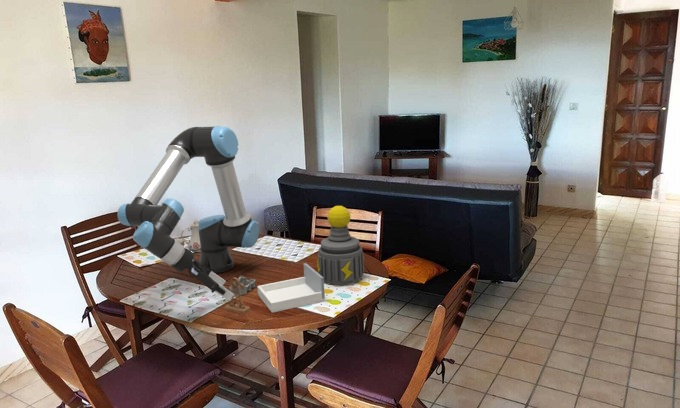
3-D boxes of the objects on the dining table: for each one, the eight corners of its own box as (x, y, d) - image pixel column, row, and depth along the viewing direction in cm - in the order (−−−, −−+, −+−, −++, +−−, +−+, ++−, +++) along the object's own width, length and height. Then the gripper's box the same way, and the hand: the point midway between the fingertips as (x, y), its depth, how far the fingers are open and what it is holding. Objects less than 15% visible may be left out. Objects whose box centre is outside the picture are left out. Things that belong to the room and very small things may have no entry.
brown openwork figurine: (224, 309, 178) (221, 277, 175) (231, 305, 181) (228, 274, 178) (243, 313, 173) (240, 281, 171) (250, 309, 177) (248, 277, 174)
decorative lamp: (324, 289, 192) (320, 213, 185) (313, 272, 210) (310, 203, 203) (370, 282, 197) (368, 208, 190) (356, 267, 214) (354, 199, 208)
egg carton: (242, 284, 201) (241, 274, 200) (258, 286, 198) (258, 276, 197) (227, 294, 192) (226, 284, 191) (243, 296, 189) (243, 286, 188)
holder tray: (257, 294, 189) (256, 272, 187) (307, 284, 197) (305, 263, 195) (271, 312, 173) (270, 288, 171) (324, 300, 181) (323, 277, 179)
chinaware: (216, 242, 264) (212, 211, 262) (230, 246, 251) (226, 213, 249) (164, 255, 247) (159, 222, 244) (176, 259, 234) (171, 225, 231)
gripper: (166, 255, 175) (213, 287, 184) (174, 277, 153) (227, 312, 162) (180, 238, 176) (226, 271, 185) (190, 258, 154) (242, 294, 163)
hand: (227, 290), depth 173 cm, fingers open, 13 cm apart
